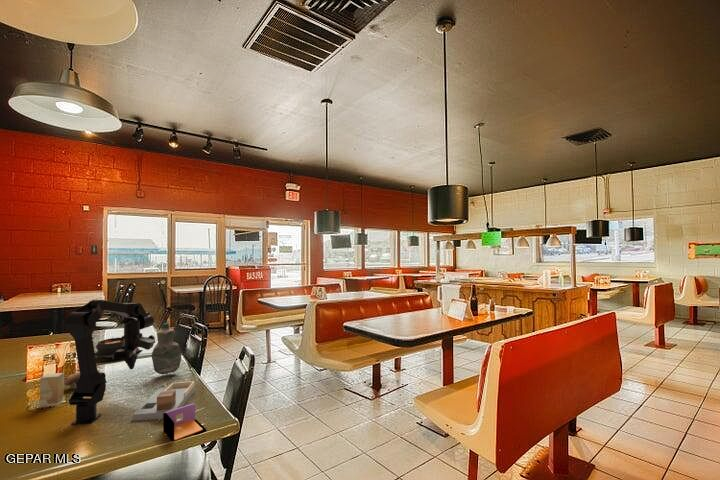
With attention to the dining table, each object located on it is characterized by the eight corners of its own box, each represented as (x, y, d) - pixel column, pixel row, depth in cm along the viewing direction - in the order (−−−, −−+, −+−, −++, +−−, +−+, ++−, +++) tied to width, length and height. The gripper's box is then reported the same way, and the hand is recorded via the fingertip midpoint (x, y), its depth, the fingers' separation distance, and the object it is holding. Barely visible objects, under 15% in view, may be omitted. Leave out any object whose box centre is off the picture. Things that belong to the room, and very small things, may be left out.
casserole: (89, 354, 205) (89, 340, 206) (126, 347, 219) (126, 334, 219) (98, 363, 188) (98, 348, 188) (137, 355, 202) (137, 341, 202)
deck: (173, 418, 126) (173, 406, 126) (132, 421, 124) (132, 409, 124) (194, 391, 150) (194, 381, 150) (159, 393, 148) (159, 383, 148)
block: (171, 409, 128) (171, 395, 128) (156, 410, 127) (156, 396, 127) (175, 403, 133) (175, 390, 133) (161, 404, 132) (161, 391, 132)
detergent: (180, 368, 178) (180, 320, 179) (182, 372, 172) (182, 322, 173) (151, 374, 171) (151, 323, 171) (151, 378, 165) (152, 326, 166)
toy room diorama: (158, 432, 117) (158, 412, 117) (195, 420, 125) (195, 401, 125) (169, 447, 108) (169, 425, 108) (208, 432, 116) (208, 412, 117)
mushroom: (60, 389, 153) (60, 375, 153) (81, 383, 160) (81, 369, 160) (68, 393, 149) (68, 378, 149) (90, 386, 156) (90, 372, 157)
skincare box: (38, 409, 134) (38, 377, 135) (45, 404, 139) (45, 373, 139) (58, 407, 136) (58, 375, 136) (64, 402, 140) (64, 372, 141)
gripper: (142, 336, 139) (142, 375, 139) (161, 326, 158) (161, 360, 157) (112, 338, 138) (111, 377, 137) (134, 327, 156) (134, 362, 156)
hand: (131, 369), depth 147 cm, fingers closed
